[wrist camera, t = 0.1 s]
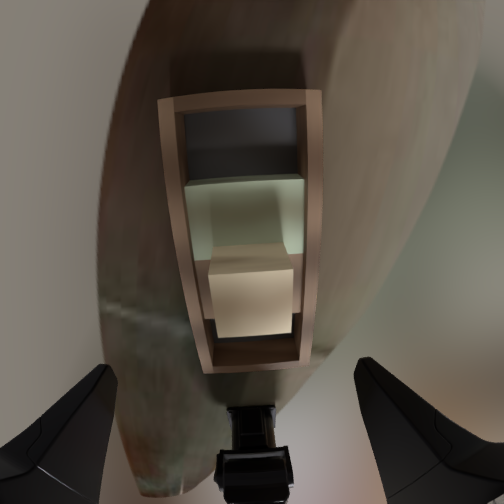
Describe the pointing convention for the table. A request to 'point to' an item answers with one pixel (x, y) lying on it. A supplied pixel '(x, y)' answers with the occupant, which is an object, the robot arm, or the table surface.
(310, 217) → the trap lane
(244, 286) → the block
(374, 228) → the table surface
